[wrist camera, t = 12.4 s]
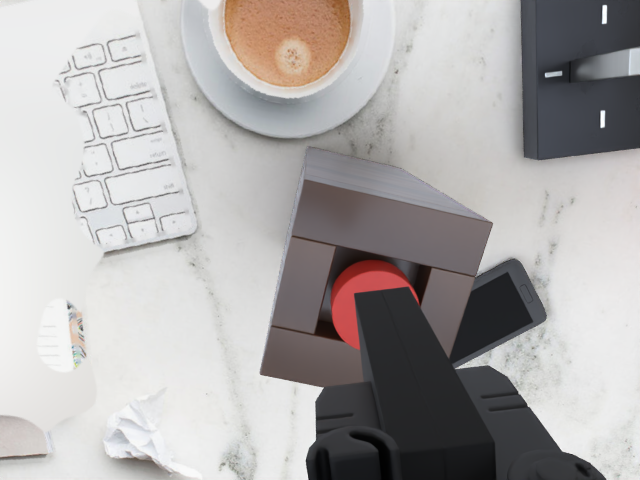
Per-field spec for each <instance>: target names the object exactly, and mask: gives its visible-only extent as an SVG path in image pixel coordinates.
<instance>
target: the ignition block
mask: <svg viewBox="0 0 640 480" xmlns="http://www.w3.org/2000/svg"><path fill="white" fill-rule="evenodd" d="M492 225H493V223H492V222H490V221H489V220H487V219H485V218H484V217H482V216H480V215H478V214H477V213H475V212H473V211H472V210H470V209H468V208H467V207H465V206H463V205H462V204H460V203H458V202H457V201H455V200H453V199H452V198H450V197H448V196H447V195H445V194H443V193H442V192H440V191H438V190H437V189H435V188H433V187H432V186H430V185H428V184H427V183H425V182H423V181H421V180H420V179H418V178H416V177H415V176H413V175H411V174H410V173H408V172H406V171H405V170H403V169H401V168H397V167H393V166H389V165H385V164H380V163H376V162H372V161H368V160H364V159H359V158H355V157H351V156H347V155H342V154H338V153H334V152H330V151H326V150H321V149H317V148H313V147H309V146H307V149H306V154H305V158H304V163H303V167H302V172H301V176H300V180H299V185H298V189H297V194H296V198H295V203H294V207H293V211H292V216H291V220H290V225H289V229H288V234H287V238H286V243H285V247H284V252H283V257H282V262H281V267H280V272H279V277H278V282H277V287H276V293H275V298H274V303H273V308H272V313H271V318H270V323H269V328H268V333H267V338H266V343H265V349H264V354H263V359H262V364H261V369H260V375H264V376H269V377H274V378H279V379H284V380H289V381H294V382H299V383H304V384H309V385H314V386H319V387H327V386H335V385H344V384H352V383H360V382H364V380H363V371H362V362H361V353H360V350H358V349H356V348H354V347H352V346H350V345H349V344H347V343H346V342H345V341H344V340H343V339H342V338H341V337H340V336H339V334H338V333H337V331H336V329H335V327H334V324H333V320H332V311H331V302H330V298H331V291H332V288H333V285H334V283H335V281H336V279H337V278H338V276H339V275H340V274H341V273H342V272H343V271H344V270H345V269H346V268H348V267H349V266H351V265H353V264H355V263H357V262H360V261H364V260H381V261H385V262H388V263H390V264H393V265H394V266H396V267H397V268H399V269H400V270H401V271H402V272H403V273H404V274H405V276H406V277H407V279H408V280H409V282H410V284H411V285H412V287H413V289H414V291H415V293H416V294H417V297H418V300H419V305H420V308H421V310H422V311H423V313H424V315H425V317H426V319H427V320H428V322H429V324H430V326H431V328H432V329H433V331H434V333H435V335H436V337H437V338H438V340H439V342H440V344H441V346H442V347H443V349H444V351H445V353H446V355H447V356H448V358H449V357H450V354H451V351H452V348H453V345H454V342H455V339H456V336H457V333H458V330H459V326H460V323H461V320H462V317H463V314H464V311H465V308H466V305H467V302H468V299H469V296H470V292H471V289H472V286H473V283H474V280H475V276H476V274H477V271H478V268H479V265H480V262H481V259H482V256H483V253H484V249H485V246H486V243H487V240H488V237H489V234H490V231H491V228H492Z"/></svg>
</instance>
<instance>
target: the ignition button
mask: <svg viewBox="0 0 640 480" xmlns="http://www.w3.org/2000/svg"><path fill="white" fill-rule="evenodd" d="M408 286H409V288H410V290H411V292H412V293H413V295H414V297H415V299H416V301H417V302H418V304H419V300H418V297H417V294H416V293H415V291H414V289H413V287H412V285H411V284H410V282H409V280H408V279H407V277H406V276H405V274H404V273H403V272H402V271H401V270H400V269H399V268H397V267H396V266H394V265H393V264H390V263H388V262H385V261H381V260H364V261H360V262H357V263H355V264H353V265H351V266H349V267H348V268H346V269H345V270H344V271H343V272H342V273H341V274H340V275H339V276H338V278H337V279H336V281H335V283H334V285H333V288H332V291H331V298H330V302H331V311H332V320H333V324H334V327H335V329H336V331H337V333H338V334H339V336H340V337H341V338H342V339H343V340H344V341H345V342H346V343H347V344H349V345H350V346H352V347H354V348H356V349H358V350H360V344H359V336H358V327H357V318H356V309H355V300H354V293H359V292H367V291H375V290H384V289H392V288H400V287H408ZM419 306H420V305H419Z"/></svg>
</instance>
